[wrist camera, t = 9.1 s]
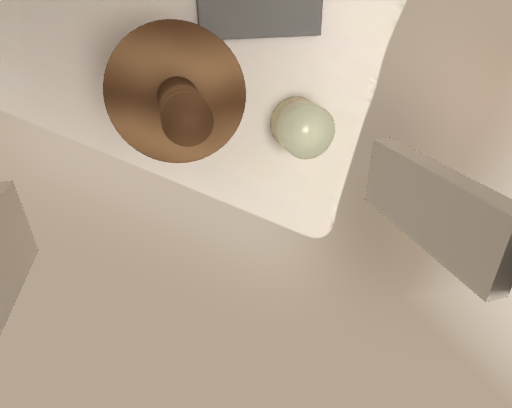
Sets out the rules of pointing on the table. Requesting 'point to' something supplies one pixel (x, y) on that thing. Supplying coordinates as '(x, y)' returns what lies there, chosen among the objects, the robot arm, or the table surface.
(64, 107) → the table surface
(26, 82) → the table surface
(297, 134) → the cream capsule cylinder
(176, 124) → the walnut lid
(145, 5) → the table surface
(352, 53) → the table surface
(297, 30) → the mat
